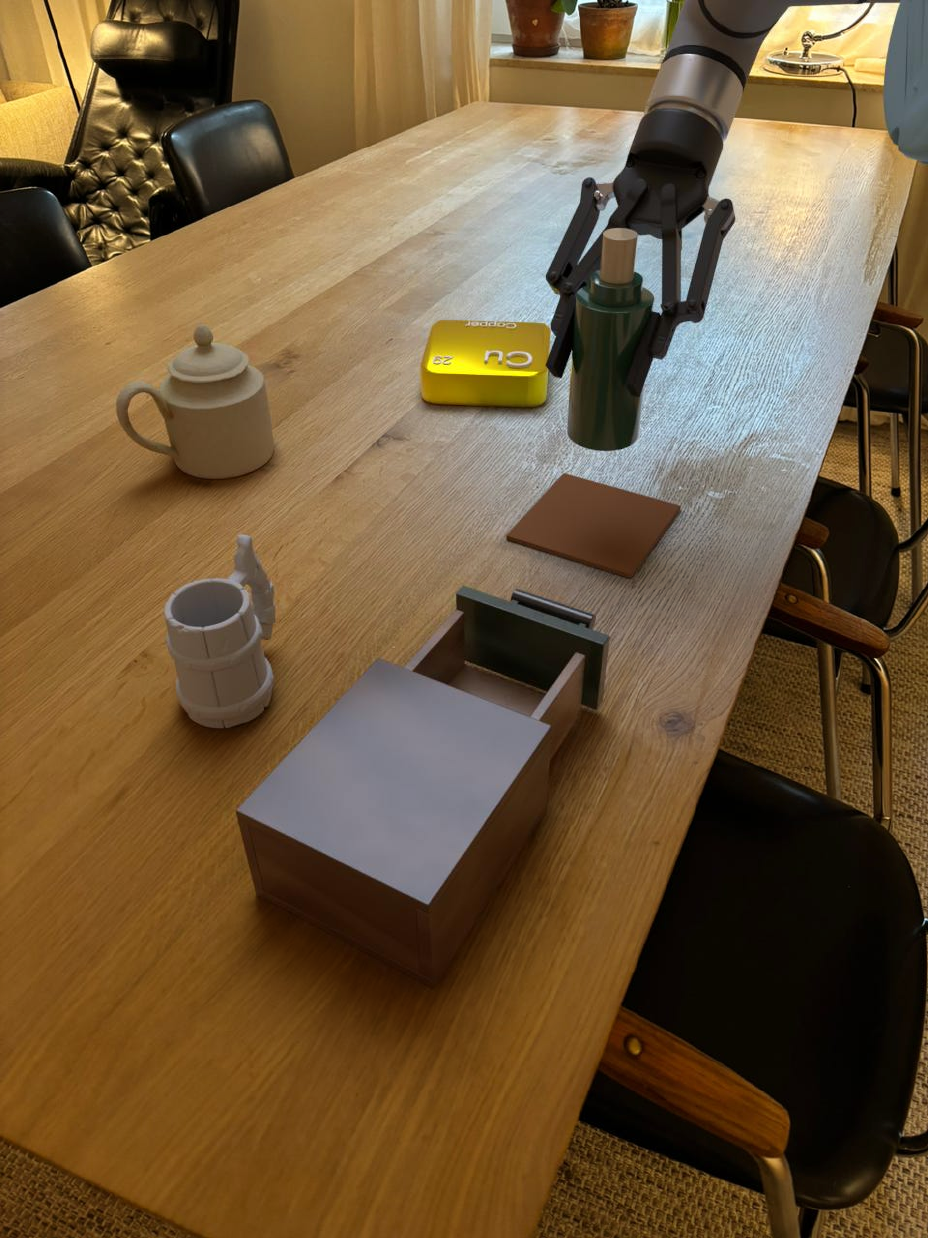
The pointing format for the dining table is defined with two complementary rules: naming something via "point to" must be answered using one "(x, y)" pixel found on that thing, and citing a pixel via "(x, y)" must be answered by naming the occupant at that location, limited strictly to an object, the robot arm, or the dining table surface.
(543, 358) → the element tile
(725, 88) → the robot arm
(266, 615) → the mug
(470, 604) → the drawer
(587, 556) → the cork mat
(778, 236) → the dining table surface
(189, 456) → the sugar bowl
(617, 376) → the oil bottle
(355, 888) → the cabinet
